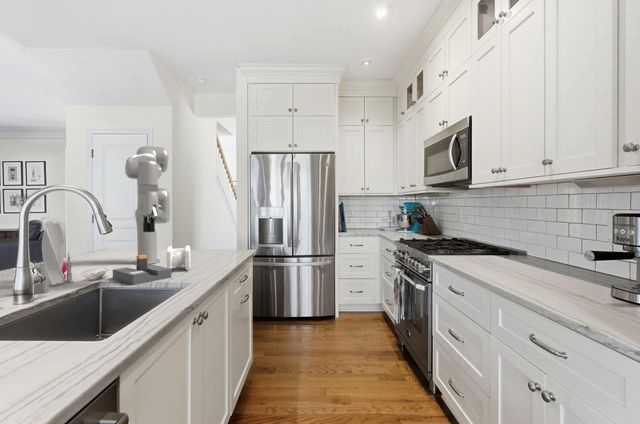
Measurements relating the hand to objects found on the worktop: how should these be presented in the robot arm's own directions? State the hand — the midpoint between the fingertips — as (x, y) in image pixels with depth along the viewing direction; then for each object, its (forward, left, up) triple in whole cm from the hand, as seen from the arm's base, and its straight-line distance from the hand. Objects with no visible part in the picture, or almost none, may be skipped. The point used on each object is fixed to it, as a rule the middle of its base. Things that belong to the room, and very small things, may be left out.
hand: (149, 231), depth 138 cm
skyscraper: (-26, -26, -21) cm, 43 cm away
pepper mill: (-36, -23, -21) cm, 48 cm away
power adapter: (-14, -34, -21) cm, 43 cm away
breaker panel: (-7, 0, -21) cm, 22 cm away
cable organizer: (-11, +20, -21) cm, 31 cm away
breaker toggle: (-7, 0, -19) cm, 20 cm away
